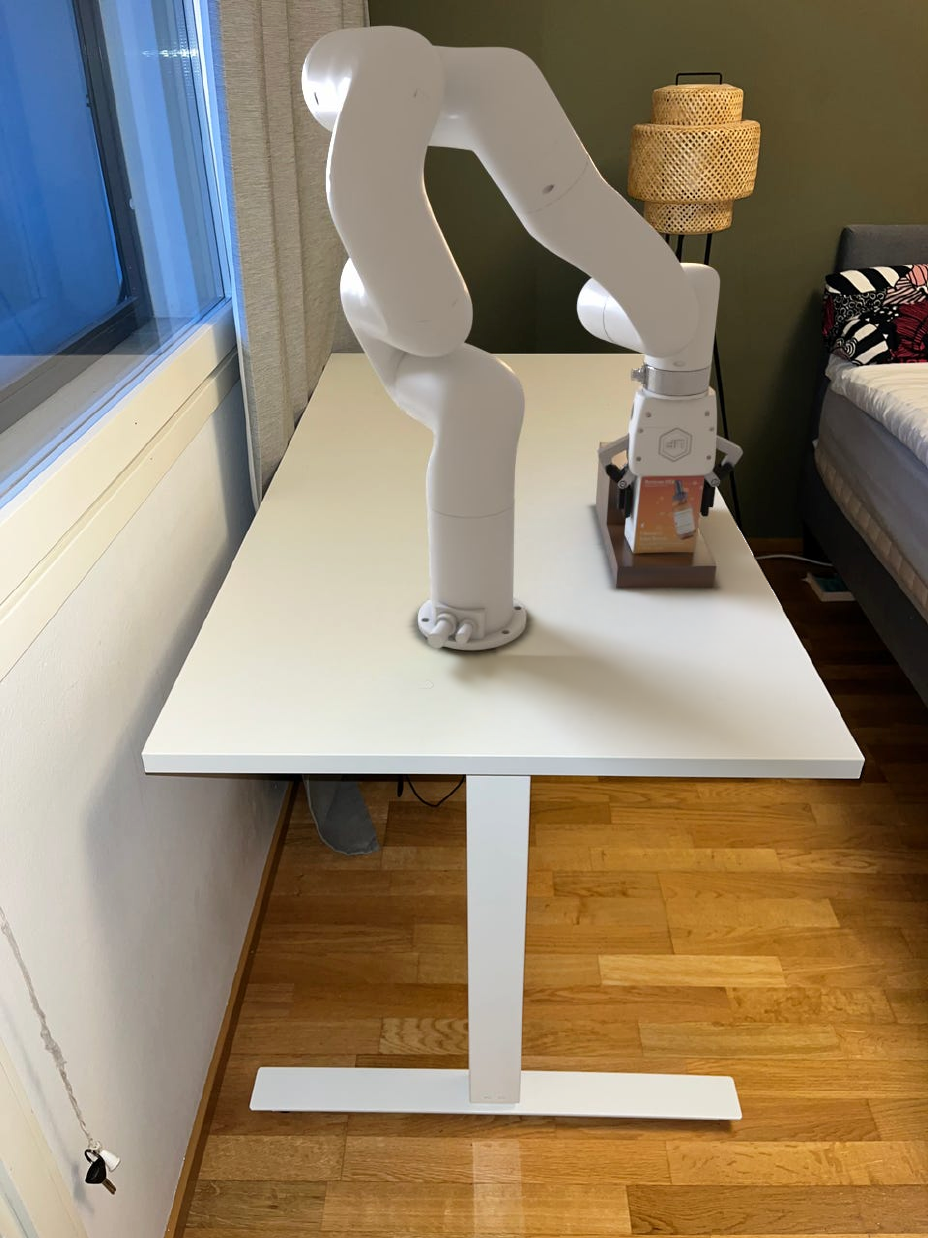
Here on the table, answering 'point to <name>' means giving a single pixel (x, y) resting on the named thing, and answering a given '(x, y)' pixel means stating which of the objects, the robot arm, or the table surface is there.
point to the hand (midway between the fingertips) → (663, 512)
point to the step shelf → (646, 566)
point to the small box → (664, 513)
